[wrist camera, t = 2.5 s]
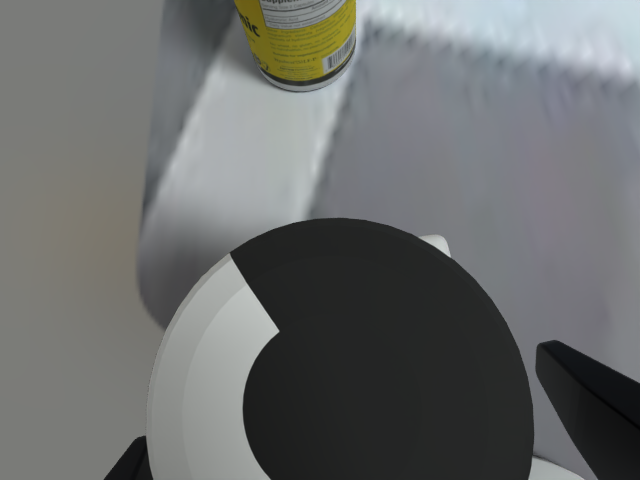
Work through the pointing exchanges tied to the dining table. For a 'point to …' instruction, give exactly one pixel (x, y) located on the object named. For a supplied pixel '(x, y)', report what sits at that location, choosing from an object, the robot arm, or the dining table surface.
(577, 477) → the white round dome
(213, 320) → the medicine bottle
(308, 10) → the supplement bottle
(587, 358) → the robot arm
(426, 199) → the dining table surface
